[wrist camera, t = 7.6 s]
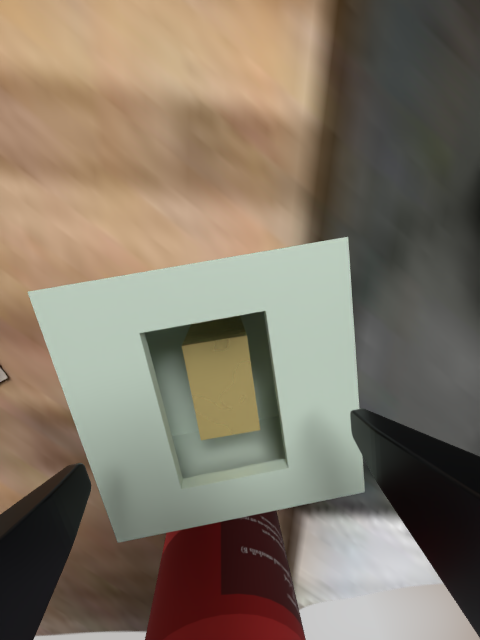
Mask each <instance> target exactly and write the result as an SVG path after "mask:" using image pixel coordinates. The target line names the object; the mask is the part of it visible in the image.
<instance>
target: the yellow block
mask: <svg viewBox="0 0 480 640" xmlns="http://www.w3.org/2000/svg"><path fill="white" fill-rule="evenodd" d="M182 350H183V355H184V360H185V365H186V370H187V375H188V380H189V385H190V390H191V394H192V399H193V404H194V409H195V414H196V419H197V424H198V429H199V434H200V438H201V440H206V439H212V438H218V437H224V436H230V435H235V434H241V433H247V432H253V431H259V430H260V424H259V417H258V410H257V403H256V396H255V389H254V382H253V375H252V367H251V360H250V353H249V346H248V339H247V334H246V331H245V328H244V326H243V323H242V320H241V317H240V315H239V316H233V317H228V318H222V319H216V320H211V321H205V322H200V323H194V324H191V326H190V328H189V330H188V333H187V335H186V337H185V339H184V342H183V344H182Z"/></svg>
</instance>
